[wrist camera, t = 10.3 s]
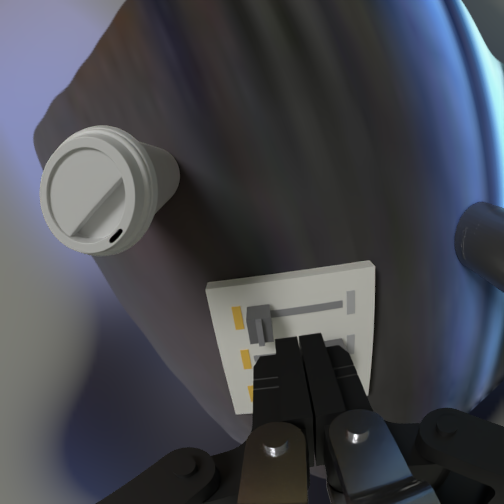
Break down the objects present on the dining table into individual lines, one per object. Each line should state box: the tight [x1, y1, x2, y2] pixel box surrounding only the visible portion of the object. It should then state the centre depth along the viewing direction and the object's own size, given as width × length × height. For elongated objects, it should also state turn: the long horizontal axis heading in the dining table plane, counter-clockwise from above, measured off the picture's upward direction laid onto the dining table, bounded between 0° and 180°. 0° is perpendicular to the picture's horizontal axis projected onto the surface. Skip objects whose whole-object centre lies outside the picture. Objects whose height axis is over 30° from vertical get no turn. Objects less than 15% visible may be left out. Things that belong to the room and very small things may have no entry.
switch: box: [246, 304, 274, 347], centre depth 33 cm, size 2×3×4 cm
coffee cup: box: [40, 126, 180, 256], centre depth 25 cm, size 10×10×15 cm
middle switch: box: [324, 338, 348, 352], centre depth 35 cm, size 2×3×4 cm
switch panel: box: [205, 260, 375, 414], centre depth 38 cm, size 19×20×2 cm
